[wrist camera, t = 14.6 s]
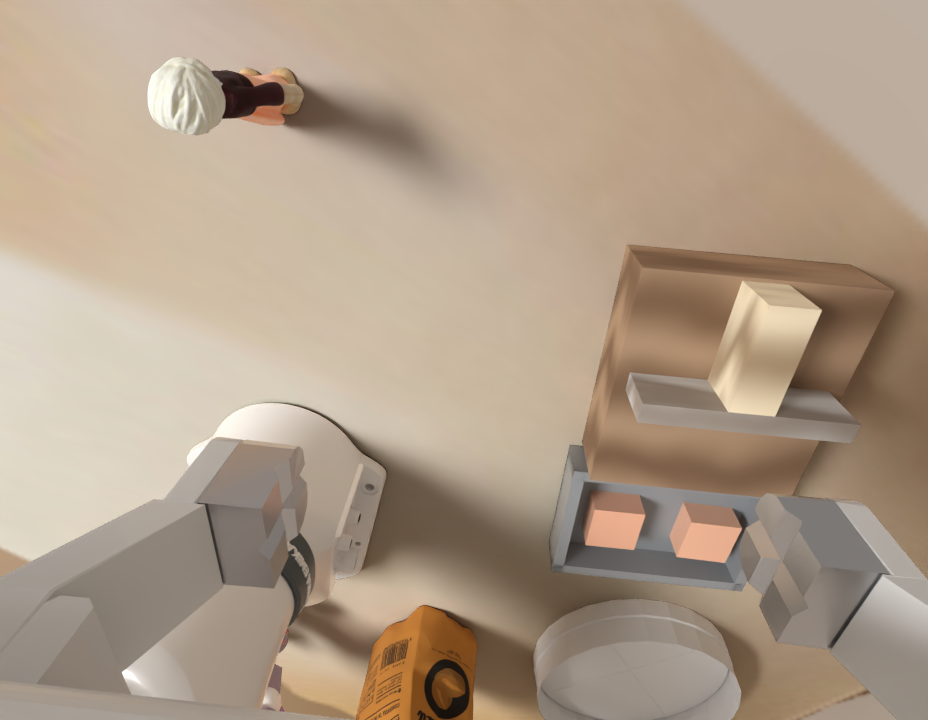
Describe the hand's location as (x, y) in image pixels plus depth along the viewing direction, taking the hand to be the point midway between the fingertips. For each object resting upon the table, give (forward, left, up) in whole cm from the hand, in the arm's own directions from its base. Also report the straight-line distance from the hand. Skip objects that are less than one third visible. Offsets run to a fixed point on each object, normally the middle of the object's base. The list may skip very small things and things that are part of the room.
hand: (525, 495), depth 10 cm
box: (-29, -17, -31) cm, 46 cm away
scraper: (-9, -17, -26) cm, 32 cm away
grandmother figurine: (+4, +16, -31) cm, 35 cm away
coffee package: (-53, +4, -31) cm, 62 cm away
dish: (-53, -20, -32) cm, 65 cm away
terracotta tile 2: (-29, -13, -28) cm, 43 cm away
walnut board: (-13, -17, -31) cm, 38 cm away
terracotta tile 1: (-30, -21, -28) cm, 46 cm away
